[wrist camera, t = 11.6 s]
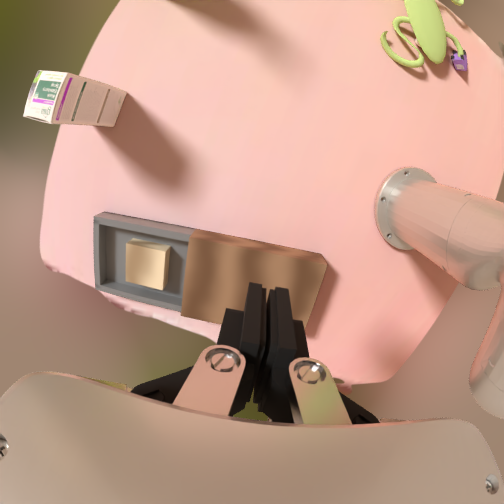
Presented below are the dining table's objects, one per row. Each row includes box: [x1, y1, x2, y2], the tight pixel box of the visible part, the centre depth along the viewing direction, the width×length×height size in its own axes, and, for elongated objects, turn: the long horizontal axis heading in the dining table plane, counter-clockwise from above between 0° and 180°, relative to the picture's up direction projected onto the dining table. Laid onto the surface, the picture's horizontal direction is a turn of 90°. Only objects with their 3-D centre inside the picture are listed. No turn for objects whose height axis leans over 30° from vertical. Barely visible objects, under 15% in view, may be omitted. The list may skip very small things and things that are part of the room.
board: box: [181, 229, 327, 330], centre depth 38 cm, size 18×12×4 cm, turn 78°
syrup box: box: [23, 70, 127, 127], centre depth 24 cm, size 6×6×14 cm
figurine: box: [380, 0, 467, 71], centre depth 21 cm, size 18×27×6 cm
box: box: [94, 212, 195, 312], centre depth 37 cm, size 15×12×3 cm
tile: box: [126, 238, 171, 290], centre depth 37 cm, size 6×6×2 cm
